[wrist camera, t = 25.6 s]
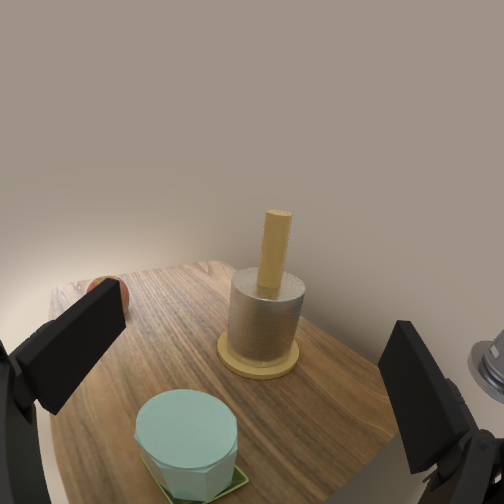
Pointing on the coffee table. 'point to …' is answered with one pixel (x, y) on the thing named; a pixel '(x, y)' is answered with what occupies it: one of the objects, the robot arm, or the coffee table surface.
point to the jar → (188, 443)
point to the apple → (122, 286)
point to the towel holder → (264, 310)
